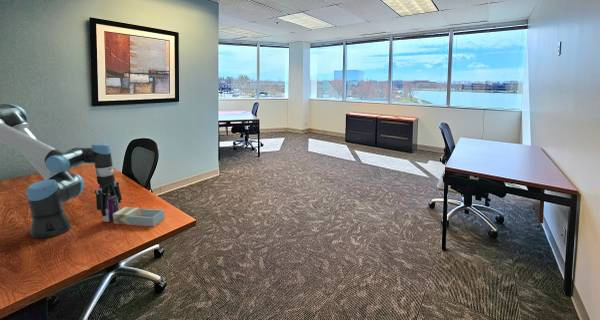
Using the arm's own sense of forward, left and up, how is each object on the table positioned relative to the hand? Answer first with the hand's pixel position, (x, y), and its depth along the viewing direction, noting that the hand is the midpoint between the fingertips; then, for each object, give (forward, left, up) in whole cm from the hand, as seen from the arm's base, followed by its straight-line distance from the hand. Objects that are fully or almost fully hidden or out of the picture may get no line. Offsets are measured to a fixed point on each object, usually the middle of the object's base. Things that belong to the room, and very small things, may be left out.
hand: (112, 217), depth 165 cm
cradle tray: (+19, 0, -1) cm, 20 cm away
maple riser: (+8, 0, -1) cm, 9 cm away
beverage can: (0, 0, -1) cm, 1 cm away
